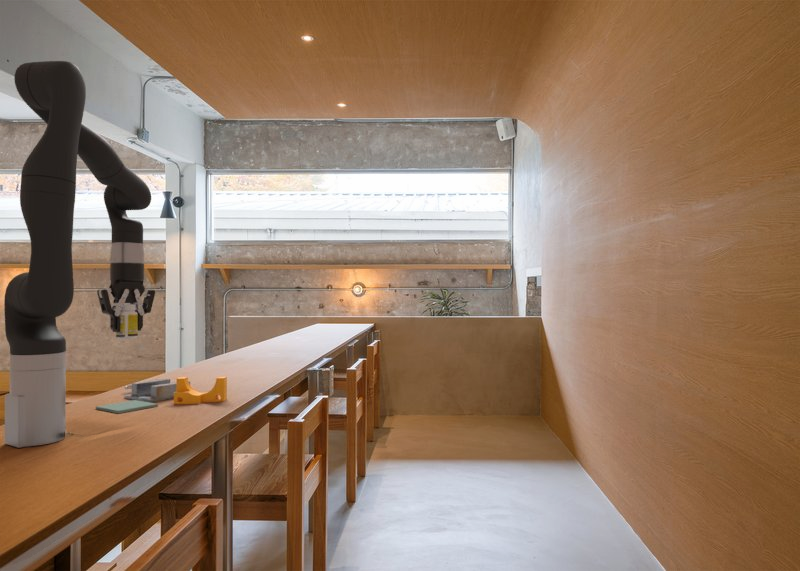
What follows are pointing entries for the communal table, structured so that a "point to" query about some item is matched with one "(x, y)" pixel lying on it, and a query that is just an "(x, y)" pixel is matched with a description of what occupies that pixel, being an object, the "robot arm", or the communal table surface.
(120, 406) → the mat
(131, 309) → the supplement bottle
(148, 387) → the vise
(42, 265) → the robot arm
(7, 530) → the communal table surface
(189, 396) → the pipe clamp
